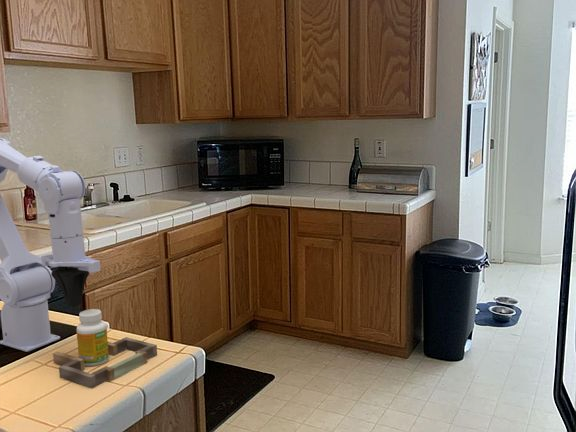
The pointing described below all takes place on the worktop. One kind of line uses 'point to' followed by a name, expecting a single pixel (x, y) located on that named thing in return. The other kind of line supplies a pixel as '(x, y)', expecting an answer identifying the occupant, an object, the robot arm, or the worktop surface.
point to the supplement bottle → (92, 338)
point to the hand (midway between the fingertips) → (74, 305)
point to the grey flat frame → (75, 365)
